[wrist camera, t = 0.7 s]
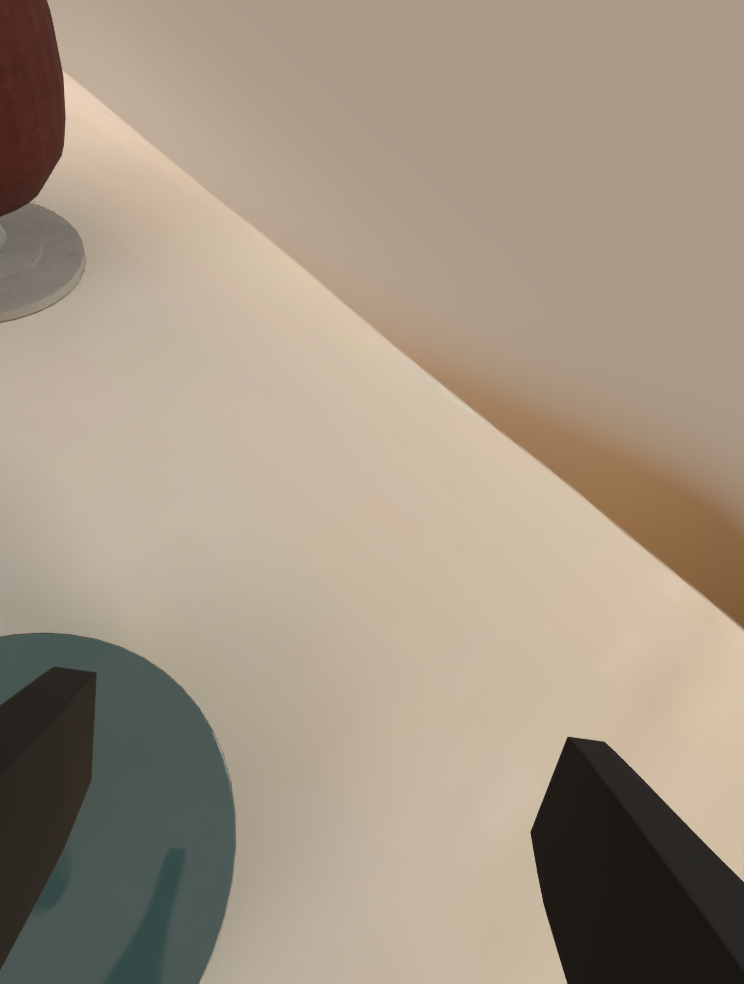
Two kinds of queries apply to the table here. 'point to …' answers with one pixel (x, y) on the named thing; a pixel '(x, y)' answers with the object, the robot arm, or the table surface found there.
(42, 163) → the mate gourd
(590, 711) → the table surface
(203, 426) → the table surface
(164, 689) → the pot lid
